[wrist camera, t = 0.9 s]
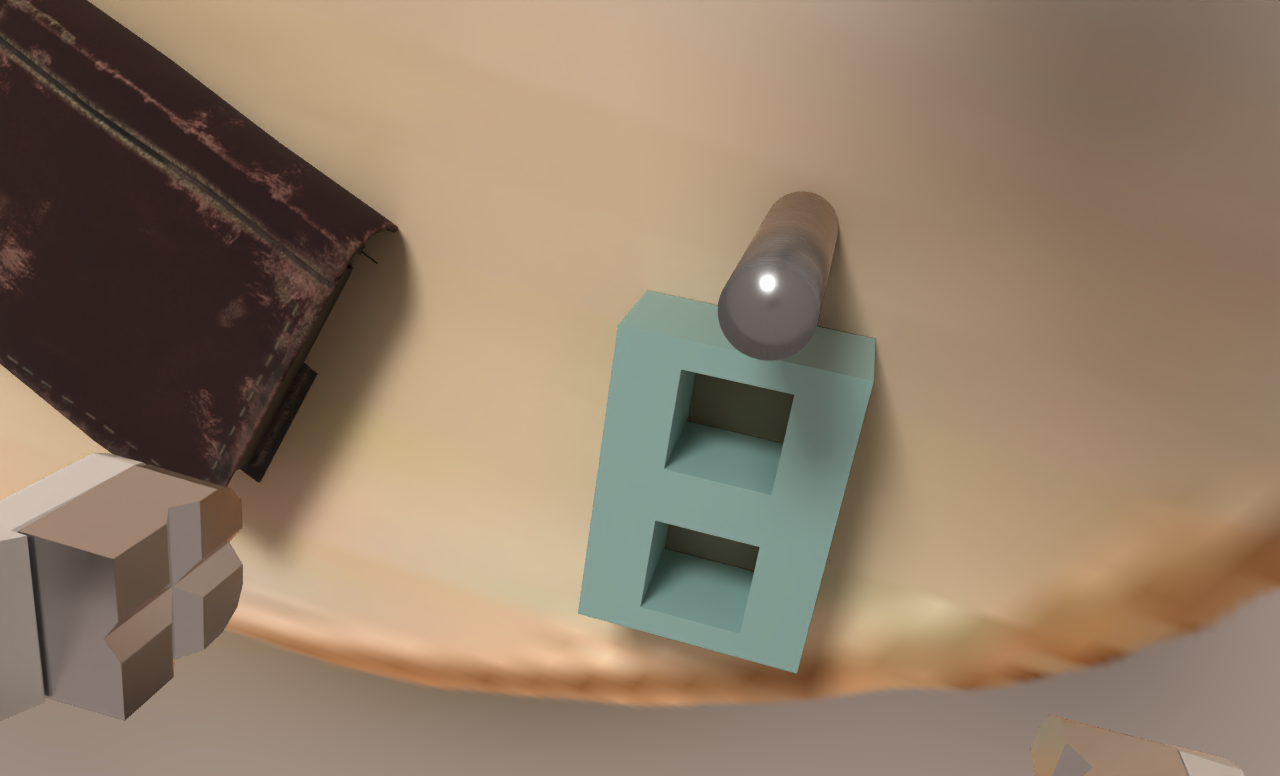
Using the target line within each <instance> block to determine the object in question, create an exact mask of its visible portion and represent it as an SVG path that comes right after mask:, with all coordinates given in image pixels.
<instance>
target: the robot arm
mask: <svg viewBox="0 0 1280 776" xmlns="http://www.w3.org/2000/svg"><path fill="white" fill-rule="evenodd" d="M241 529H242V511H241V499H240V498H239V497H238V496H237V495H236V494H235V493H234V492H233V491H232V490H231V489H230V488H226V487H223V486H220V485H216V484H213V483H210V482H206V481H203V480H200V479H196V478H193V477H190V476H186V475H183V474H180V473H176V472H173V471H170V470H166V469H163V468H160V467H156V466H153V465H146V464H144V463H143V462H139V461H135V460H132V459H128V458H124V457H121V456H117V455H113V454H106V453H92V454H90V455H88V456H86V457H84V458H82V459H80V460H78V461H77V462H75V463H73V464H71V465H69V466H67V467H65V468H63V469H61V470H59V471H57V472H55V473H53V474H51V475H49V476H47V477H45V478H43V479H41V480H40V481H38V482H36V483H34V484H32V485H30V486H28V487H26V488H24V489H22V490H20V491H18V492H16V493H14V494H12V495H10V496H8V497H6V498H4V499H2V500H1V501H0V721H1V720H4V719H6V718H8V717H11V716H13V715H16V714H18V713H20V712H23V711H25V710H28V709H30V708H32V707H35V706H37V705H40V704H42V703H44V702H45V698H49V699H52V700H56V701H59V702H62V703H66V704H70V705H73V706H76V707H80V708H83V709H86V710H90V711H93V712H97V713H100V714H103V715H107V716H110V717H114V718H117V719H121V720H124V721H125V720H126V719H127V718H128V717H129V716H131V715H132V714H133V713H134V712H135V711H136V710H137V709H138V708H139V707H141V706H142V705H143V704H144V703H145V702H146V701H147V700H148V699H150V698H151V697H152V696H153V695H154V694H155V693H156V692H157V691H159V690H160V689H161V688H162V687H163V686H164V685H165V684H166V683H167V682H169V681H170V680H171V679H172V678H173V677H174V666H175V665H174V664H175V659H178V658H181V657H183V656H187V655H190V654H193V653H196V652H199V651H202V650H204V649H205V648H206V647H207V646H209V645H210V644H211V643H212V642H213V641H214V640H215V639H216V638H217V637H218V636H219V635H220V634H221V633H222V632H223V631H224V629H225V627H226V626H227V624H228V622H229V620H230V619H231V617H232V615H233V613H234V612H235V610H236V608H237V606H238V602H239V598H240V593H241V589H242V585H243V564H242V562H241V561H240V559H239V557H238V556H237V554H236V552H235V551H234V549H233V547H232V546H231V544H230V541H231V540H232V539H233V538H234V536H235V535H236V534H237V533H238V532H239V531H240V530H241ZM1030 750H1031V755H1032V760H1033V765H1034V770H1035V775H1036V776H1244V774H1243V772H1242V770H1241V769H1240V768H1239V767H1238V766H1237V765H1236V764H1234V763H1233V762H1232V761H1231V760H1230V759H1227V758H1223V757H1219V756H1215V755H1210V754H1207V753H1203V752H1198V751H1194V750H1190V749H1186V748H1182V747H1178V746H1174V745H1170V744H1168V745H1164V744H1161V743H1157V742H1153V741H1149V740H1145V739H1141V738H1137V737H1134V736H1130V735H1126V734H1122V733H1118V732H1114V731H1111V730H1106V729H1103V728H1099V727H1095V726H1091V725H1088V724H1083V723H1080V722H1076V721H1072V720H1068V719H1064V718H1061V717H1057V716H1053V715H1048V716H1047V718H1046V719H1045V720H1044V722H1043V723H1042V724H1041V726H1040V727H1039V729H1038V732H1037V734H1036V736H1035V739H1034V741H1033V744H1032V746H1031V748H1030Z"/></svg>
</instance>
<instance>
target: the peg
mask: <svg viewBox="0 0 1280 776" xmlns="http://www.w3.org/2000/svg"><path fill="white" fill-rule="evenodd" d="M838 228H839V225H838V219H837V216H836V213H835V211H834V209H833V208H832V206H831V205H830V204H829V203H828V202H827V201H826V200H825V199H824V198H822V197H820V196H819V195H816V194H814V193H810V192H794V193H791V194H788V195H786V196H784V197H782V198H781V199H779V200H778V201H777V202H776V203H775V204H774V205H773V206H772V208H771V209H770V211H769V213H768V214H767V216H766V218H765V219H764V221H763V223H762V225H761V226H760V228H759V230H758V231H757V233H756V235H755V236H754V238H753V240H752V241H751V243H750V245H749V247H748V248H747V250H746V252H745V253H744V255H743V257H742V258H741V260H740V262H739V263H738V265H737V267H736V269H735V270H734V272H733V274H732V275H731V277H730V279H729V280H728V282H727V284H726V285H725V287H724V289H723V291H722V293H721V295H720V299H719V303H718V320H719V324H720V327H721V330H722V332H723V334H724V335H725V337H726V339H727V340H728V341H729V342H730V344H731V345H732V346H733V347H734V348H736V349H737V350H738V351H740V352H741V353H743V354H745V355H746V356H749V357H751V358H754V359H758V360H764V361H774V360H780V359H784V358H787V357H790V356H792V355H794V354H796V353H797V352H799V351H800V350H801V349H803V348H804V347H805V346H806V345H807V344H808V342H809V341H810V340H811V338H812V337H813V335H814V333H815V331H816V328H817V324H818V320H819V316H820V311H821V307H822V302H823V298H824V293H825V289H826V285H827V280H828V276H829V271H830V267H831V263H832V258H833V254H834V249H835V245H836V241H837V236H838Z"/></svg>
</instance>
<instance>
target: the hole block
mask: <svg viewBox="0 0 1280 776" xmlns="http://www.w3.org/2000/svg"><path fill="white" fill-rule="evenodd" d="M874 363H875V339H874V338H869V337H865V336H860V335H855V334H851V333H846V332H841V331H836V330H832V329H827V328H822V327H818V326H817V328H816V331H815V333H814V335H813V337H812V338H811V340H810V341H809V342H808V344H807V345H806V346H805V347H804V348H803V349H801V350H800V351H799V352H797V353H796V354H794V355H792V356H790V357H787V358H784V359H780V360H774V361H764V360H758V359H754V358H751V357H749V356H746V355H745V354H743V353H741V352H740V351H738V350H737V349H736V348H734V347H733V346H732V345H731V344H730V342H729V341H728V340H727V339H726V337H725V335H724V334H723V332H722V330H721V327H720V324H719V320H718V305H714V304H709V303H704V302H699V301H695V300H690V299H685V298H680V297H676V296H671V295H666V294H662V293H657V292H652V291H647V292H646V293H645V294H644V295H643V297H642V298H641V299H640V300H639V301H638V302H637V304H636V305H635V306H634V307H633V308H632V309H631V311H630V312H629V313H628V314H627V315H626V316H625V318H624V319H623V320H622V321H621V322H620V323H619V325H618V330H617V337H616V344H615V351H614V358H613V366H612V373H611V380H610V387H609V394H608V402H607V409H606V416H605V423H604V430H603V438H602V445H601V452H600V459H599V466H598V474H597V481H596V488H595V495H594V502H593V510H592V517H591V524H590V531H589V538H588V546H587V553H586V560H585V567H584V574H583V582H582V589H581V596H580V603H579V610H578V614H581V615H585V616H589V617H592V618H596V619H599V620H603V621H607V622H610V623H614V624H618V625H621V626H625V627H629V628H632V629H636V630H640V631H643V632H647V633H651V634H654V635H658V636H661V637H665V638H669V639H672V640H676V641H680V642H683V643H687V644H691V645H694V646H698V647H702V648H705V649H709V650H713V651H716V652H720V653H723V654H727V655H731V656H734V657H738V658H742V659H745V660H749V661H753V662H756V663H760V664H764V665H767V666H771V667H775V668H778V669H782V670H785V671H789V672H793V673H796V674H797V671H798V667H799V663H800V659H801V656H802V652H803V648H804V644H805V640H806V637H807V633H808V629H809V625H810V621H811V618H812V614H813V610H814V606H815V602H816V599H817V595H818V591H819V587H820V583H821V580H822V576H823V572H824V568H825V564H826V561H827V557H828V553H829V549H830V545H831V542H832V538H833V534H834V530H835V526H836V523H837V519H838V515H839V511H840V507H841V504H842V500H843V496H844V492H845V488H846V485H847V481H848V477H849V473H850V469H851V466H852V462H853V458H854V454H855V450H856V447H857V443H858V439H859V435H860V431H861V428H862V424H863V420H864V416H865V412H866V409H867V405H868V401H869V397H870V393H871V390H872V386H873V382H874ZM696 373H699V374H704V375H708V376H713V377H717V378H722V379H726V380H731V381H735V382H740V383H744V384H748V385H753V386H757V387H762V388H766V389H771V390H775V391H780V392H784V393H788V394H793V395H794V399H793V403H792V407H791V412H790V416H789V421H788V425H787V429H786V434H785V438H784V443H779V442H775V441H770V440H766V439H762V438H758V437H753V436H749V435H745V434H740V433H736V432H732V431H728V430H723V429H719V428H715V427H710V426H706V425H702V424H698V423H693V422H689V421H688V415H689V409H690V404H691V398H692V393H693V387H694V381H695V376H696ZM669 524H671V525H675V526H678V527H682V528H686V529H690V530H694V531H698V532H702V533H706V534H710V535H714V536H718V537H722V538H726V539H730V540H734V541H738V542H742V543H746V544H750V545H753V546H757V547H760V548H759V553H758V557H757V561H756V566H755V570H754V571H750V570H746V569H743V568H739V567H735V566H731V565H727V564H723V563H719V562H715V561H712V560H708V559H704V558H700V557H696V556H692V555H688V554H684V553H681V552H677V551H673V550H669V549H665V544H666V538H667V533H668V527H669Z"/></svg>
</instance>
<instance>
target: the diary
mask: <svg viewBox="0 0 1280 776" xmlns="http://www.w3.org/2000/svg"><path fill="white" fill-rule="evenodd" d="M385 229H387V230H389V231H391V232H396V231H397V230H398V227H397V226H396V225H394V224H393V223H392V222H390V221H389V220H388V219H386V218H385V217H384V216H382V215H381V214H379V213H378V212H377V211H375V210H374V209H372V208H371V207H369V206H368V205H367V204H365V203H364V202H362V201H361V200H360V199H358V198H357V197H355V196H354V195H353V194H351V193H350V192H348V191H347V190H346V189H344V188H343V187H341V186H340V185H339V184H337V183H336V182H334V181H333V180H332V179H330V178H329V177H327V176H326V175H324V174H323V173H322V172H320V171H319V170H317V169H316V168H315V167H313V166H312V165H310V164H309V163H308V162H306V161H305V160H303V159H302V158H301V157H299V156H298V155H296V154H295V153H294V152H292V151H291V150H289V149H288V148H286V147H285V146H284V145H282V144H281V143H279V142H278V141H277V140H275V139H274V138H273V137H272V136H270V135H269V134H268V133H266V132H265V131H264V130H262V129H261V128H260V127H258V126H257V125H256V124H255V123H253V122H252V121H251V120H249V119H248V118H247V117H245V116H244V115H243V114H241V113H240V112H239V111H238V110H236V109H235V108H234V107H232V106H231V105H230V104H228V103H227V102H226V101H224V100H223V99H222V98H221V97H219V96H218V95H217V94H215V93H214V92H213V91H211V90H210V89H209V88H207V87H206V86H205V85H204V84H202V83H201V82H200V81H198V80H197V79H196V78H194V77H193V76H192V75H190V74H189V73H188V72H187V71H185V70H184V69H183V68H181V67H180V66H179V65H177V64H176V63H175V62H173V61H172V60H171V59H169V58H168V57H167V56H165V55H164V54H162V53H161V52H160V51H158V50H157V49H155V48H154V47H152V46H151V45H150V44H148V43H147V42H145V41H144V40H143V39H141V38H140V37H138V36H137V35H135V34H134V33H133V32H131V31H130V30H128V29H127V28H125V27H124V26H123V25H121V24H120V23H118V22H117V21H116V20H114V19H113V18H111V17H110V16H108V15H107V14H106V13H104V12H103V11H101V10H100V9H98V8H97V7H96V6H94V5H93V4H91V3H90V2H89V1H87V0H0V364H1V365H2V366H4V367H5V368H6V369H7V370H9V371H10V372H11V373H12V374H13V375H15V376H16V377H17V378H18V379H20V380H21V381H22V382H23V383H24V384H26V385H27V386H28V387H29V388H31V389H32V390H33V391H34V392H35V393H37V394H38V395H39V396H40V397H42V398H43V399H44V400H45V401H46V402H48V403H49V404H50V405H51V406H53V407H54V408H55V409H56V410H57V411H59V412H60V413H61V414H62V415H64V416H65V417H66V418H67V419H68V420H70V421H71V422H72V423H73V424H74V425H76V426H77V427H78V428H79V429H81V430H82V431H83V432H84V433H85V434H87V435H88V436H89V437H90V438H92V439H93V440H94V441H95V442H97V443H98V444H99V445H101V446H102V447H104V448H105V449H106V450H108V451H109V452H111V453H112V454H114V455H117V456H121V457H124V458H128V459H132V460H135V461H139V462H143V463H144V464H146V465H153V466H156V467H160V468H163V469H166V470H170V471H173V472H176V473H180V474H183V475H186V476H190V477H193V478H196V479H200V480H203V481H206V482H210V483H213V484H216V485H220V486H223V487H227V486H228V484H229V482H230V480H231V478H232V476H233V474H234V472H235V471H236V470H238V469H239V468H240V469H241V470H242V471H243V472H245V473H246V474H248V475H249V476H250V477H252V478H253V479H254V480H256V481H257V482H260V481H261V480H262V478H263V476H264V474H265V472H266V470H267V468H268V466H269V464H270V463H271V461H272V459H273V457H274V455H275V453H276V451H277V449H278V447H279V446H280V444H281V442H282V440H283V438H284V436H285V434H286V432H287V430H288V429H289V427H290V425H291V423H292V421H293V419H294V417H295V415H296V413H297V412H298V410H299V408H300V406H301V404H302V402H303V400H304V398H305V396H306V395H307V393H308V391H309V389H310V387H311V385H312V383H313V381H314V380H315V378H316V376H317V373H316V372H315V371H314V370H312V369H311V368H310V367H309V366H308V365H306V364H305V363H304V361H305V359H306V357H307V355H308V353H309V351H310V349H311V347H312V346H313V344H314V342H315V340H316V338H317V336H318V334H319V332H320V330H321V329H322V327H323V325H324V323H325V321H326V319H327V317H328V315H329V314H330V312H331V310H332V308H333V306H334V304H335V302H336V300H337V298H338V297H339V295H340V293H341V291H342V289H343V287H344V285H345V283H346V281H347V280H348V278H349V276H350V274H351V272H352V270H353V268H352V267H351V266H350V265H348V264H349V262H350V260H351V258H352V256H353V254H354V253H357V254H360V255H361V253H363V254H364V255H365V256H367V257H368V258H370V259H371V260H372V261H374V262H375V263H376V264H378V262H376V261H375V260H374V259H372V258H371V257H369V256H368V255H367V254H365V253H364V252H363V249H364V248H365V246H364V243H365V242H366V241H367V240H369V239H370V238H371V237H372V236H373V235H375V234H376V233H378V232H381V231H383V230H385Z"/></svg>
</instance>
